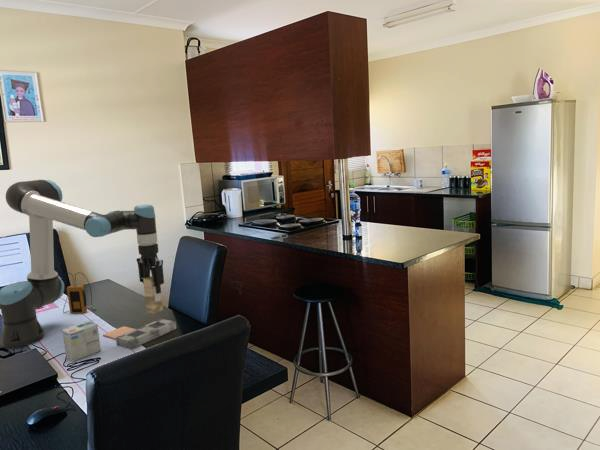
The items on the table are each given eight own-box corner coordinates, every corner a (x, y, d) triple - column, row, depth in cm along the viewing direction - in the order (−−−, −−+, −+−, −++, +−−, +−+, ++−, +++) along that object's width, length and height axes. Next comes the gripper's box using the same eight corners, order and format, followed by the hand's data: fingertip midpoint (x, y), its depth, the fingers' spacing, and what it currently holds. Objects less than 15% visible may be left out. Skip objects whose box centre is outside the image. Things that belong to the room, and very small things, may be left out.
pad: (118, 340, 180) (117, 338, 180) (102, 336, 186) (102, 334, 186) (139, 331, 189) (138, 330, 189) (123, 327, 194) (123, 326, 194)
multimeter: (102, 306, 225) (97, 267, 222) (91, 313, 215) (86, 272, 212) (74, 306, 227) (69, 267, 223) (62, 314, 217) (56, 273, 214)
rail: (131, 349, 171) (130, 341, 171) (116, 344, 176) (115, 337, 176) (176, 328, 189) (175, 321, 189) (161, 325, 194) (161, 318, 194)
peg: (154, 313, 182) (150, 279, 180) (146, 311, 185) (143, 278, 183) (162, 310, 186) (159, 277, 184) (155, 308, 189) (152, 275, 186)
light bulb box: (93, 346, 176) (89, 320, 174) (101, 350, 171) (98, 323, 170) (64, 357, 168) (60, 329, 166) (73, 361, 163) (69, 333, 162)
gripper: (170, 243, 179) (175, 300, 183) (141, 240, 189) (147, 294, 193) (154, 247, 173) (160, 305, 177) (125, 244, 183) (132, 299, 186)
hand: (153, 299), depth 185 cm, fingers closed on peg, 4 cm apart
